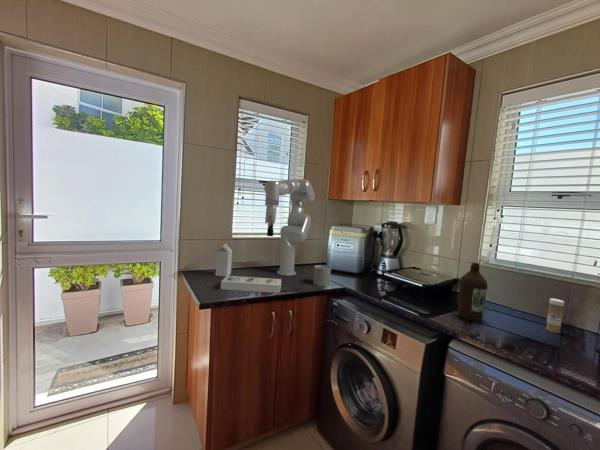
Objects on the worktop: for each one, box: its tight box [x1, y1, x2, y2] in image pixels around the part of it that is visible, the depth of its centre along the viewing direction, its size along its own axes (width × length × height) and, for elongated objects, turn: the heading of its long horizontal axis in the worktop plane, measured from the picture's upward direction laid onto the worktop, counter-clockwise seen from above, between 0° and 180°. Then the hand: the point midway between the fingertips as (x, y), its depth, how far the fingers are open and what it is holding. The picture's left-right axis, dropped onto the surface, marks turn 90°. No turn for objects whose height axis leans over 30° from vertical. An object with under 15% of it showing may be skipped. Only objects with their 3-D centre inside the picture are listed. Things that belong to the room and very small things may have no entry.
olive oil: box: [457, 261, 488, 322], centre depth 126 cm, size 11×11×25 cm
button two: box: [229, 277, 238, 281], centre depth 149 cm, size 5×5×4 cm
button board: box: [220, 275, 282, 294], centre depth 149 cm, size 12×30×4 cm, turn 91°
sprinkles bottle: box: [545, 297, 565, 334], centre depth 117 cm, size 5×5×14 cm
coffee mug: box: [312, 264, 332, 287], centre depth 167 cm, size 13×10×10 cm
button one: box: [267, 278, 276, 283], centre depth 149 cm, size 5×5×4 cm
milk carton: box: [215, 243, 233, 278], centre depth 170 cm, size 7×7×19 cm
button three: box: [248, 277, 257, 282], centre depth 149 cm, size 5×5×4 cm
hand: (270, 235), depth 157 cm, fingers closed
